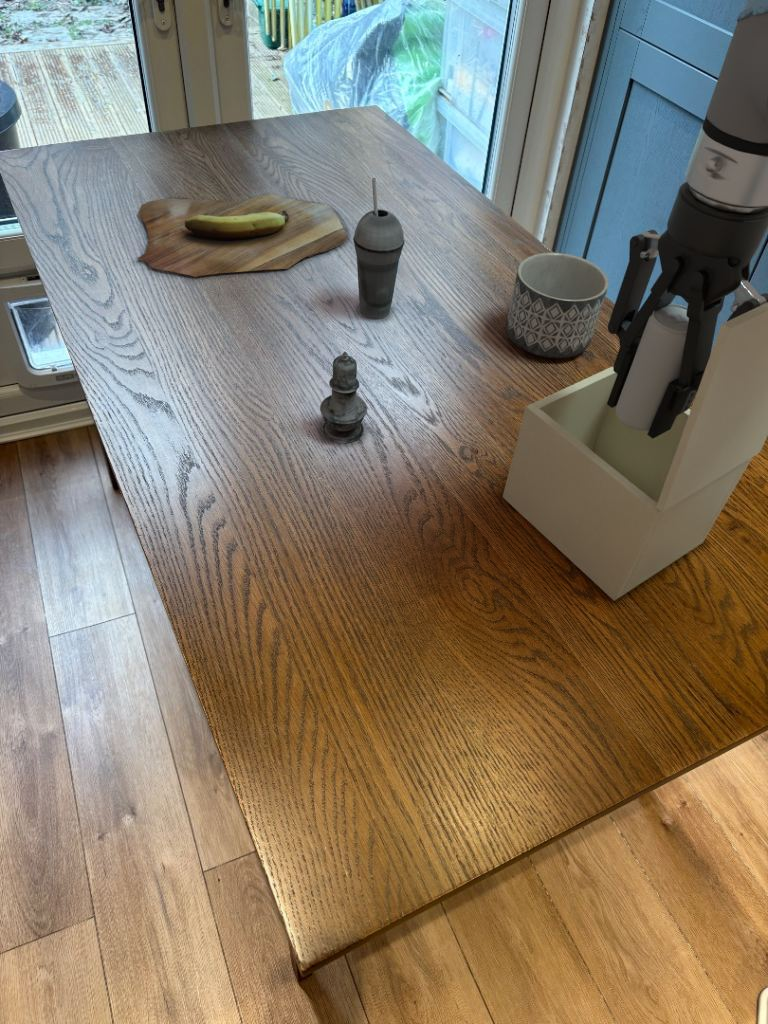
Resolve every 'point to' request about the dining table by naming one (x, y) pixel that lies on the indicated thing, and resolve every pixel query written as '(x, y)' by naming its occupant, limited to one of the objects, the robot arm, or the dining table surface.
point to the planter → (555, 304)
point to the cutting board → (236, 234)
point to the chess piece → (343, 403)
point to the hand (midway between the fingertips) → (638, 416)
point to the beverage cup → (377, 259)
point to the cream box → (606, 487)
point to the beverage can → (653, 367)
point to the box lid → (724, 409)
